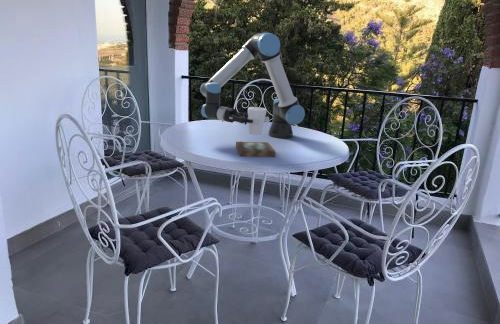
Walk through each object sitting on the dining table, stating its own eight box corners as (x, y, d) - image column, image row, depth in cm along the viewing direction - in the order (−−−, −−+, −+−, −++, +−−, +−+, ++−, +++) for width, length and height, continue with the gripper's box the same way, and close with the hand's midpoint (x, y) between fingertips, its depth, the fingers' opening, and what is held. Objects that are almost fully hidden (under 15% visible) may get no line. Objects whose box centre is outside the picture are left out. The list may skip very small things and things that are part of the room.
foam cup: (262, 136, 208) (264, 110, 204) (244, 134, 209) (246, 109, 206) (265, 132, 217) (267, 108, 213) (248, 130, 218) (250, 106, 214)
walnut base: (268, 147, 226) (268, 141, 225) (274, 156, 209) (275, 150, 208) (235, 147, 223) (235, 141, 222) (239, 156, 206) (240, 150, 205)
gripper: (238, 118, 230) (273, 125, 219) (214, 124, 211) (252, 131, 201) (238, 105, 228) (274, 111, 217) (215, 109, 209) (253, 116, 198)
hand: (263, 121), depth 209 cm, fingers closed on foam cup, 9 cm apart
